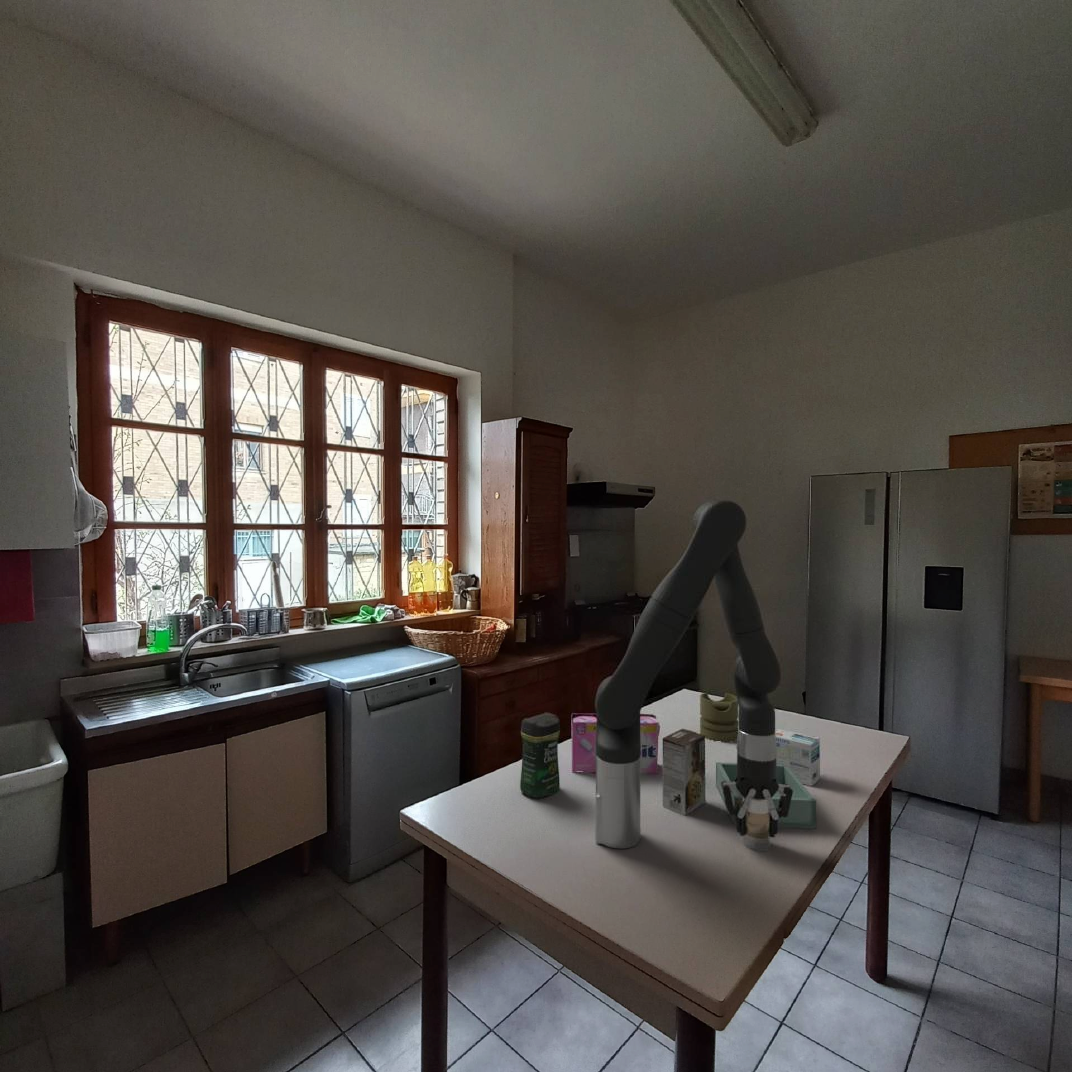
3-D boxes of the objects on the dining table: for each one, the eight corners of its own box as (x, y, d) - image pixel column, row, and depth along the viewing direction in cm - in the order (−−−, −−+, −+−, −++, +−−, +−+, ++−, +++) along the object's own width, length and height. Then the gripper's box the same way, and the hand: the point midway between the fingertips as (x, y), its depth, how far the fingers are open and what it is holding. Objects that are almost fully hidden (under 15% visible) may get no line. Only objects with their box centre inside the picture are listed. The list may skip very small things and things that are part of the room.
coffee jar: (537, 802, 137) (537, 724, 137) (515, 791, 143) (514, 716, 142) (565, 789, 144) (565, 715, 143) (543, 779, 149) (543, 707, 149)
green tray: (734, 824, 127) (734, 797, 126) (716, 786, 145) (716, 762, 145) (815, 828, 125) (816, 800, 125) (786, 788, 144) (786, 764, 144)
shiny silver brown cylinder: (746, 850, 116) (746, 801, 116) (739, 836, 122) (739, 789, 122) (773, 851, 116) (773, 802, 116) (765, 837, 121) (765, 790, 121)
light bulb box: (820, 779, 150) (821, 737, 150) (812, 787, 145) (812, 744, 145) (778, 767, 157) (778, 727, 157) (769, 775, 152) (769, 734, 152)
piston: (741, 703, 174) (703, 701, 176) (741, 743, 175) (702, 741, 176) (734, 692, 186) (697, 691, 187) (734, 730, 186) (697, 728, 187)
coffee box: (682, 793, 141) (682, 727, 141) (706, 802, 137) (706, 734, 137) (661, 806, 135) (661, 737, 135) (685, 816, 130) (685, 744, 130)
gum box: (658, 762, 160) (658, 713, 160) (663, 775, 152) (663, 723, 152) (571, 761, 161) (571, 712, 161) (571, 773, 154) (571, 722, 153)
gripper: (724, 758, 115) (724, 843, 116) (799, 760, 114) (799, 846, 114) (716, 744, 123) (716, 824, 123) (786, 746, 122) (786, 827, 122)
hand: (756, 834), depth 119 cm, fingers closed on shiny silver brown cylinder, 5 cm apart
